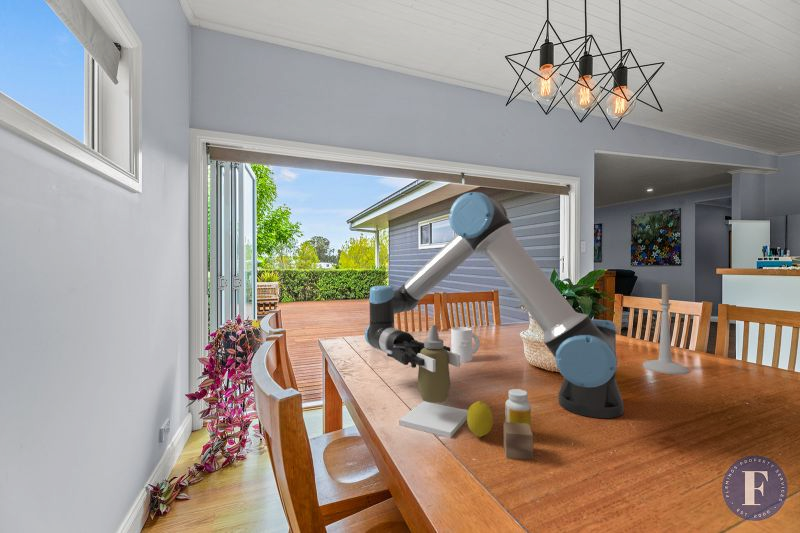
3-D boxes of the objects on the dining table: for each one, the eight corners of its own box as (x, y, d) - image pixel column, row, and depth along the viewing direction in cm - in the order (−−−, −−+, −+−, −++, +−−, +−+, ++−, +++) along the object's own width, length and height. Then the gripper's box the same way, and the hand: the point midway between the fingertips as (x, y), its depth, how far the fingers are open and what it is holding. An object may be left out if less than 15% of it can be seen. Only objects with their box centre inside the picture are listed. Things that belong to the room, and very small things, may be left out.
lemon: (493, 444, 77) (493, 406, 77) (466, 442, 78) (466, 404, 78) (492, 432, 82) (492, 397, 82) (467, 430, 84) (467, 395, 83)
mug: (485, 360, 141) (485, 329, 140) (457, 363, 137) (457, 331, 136) (474, 355, 148) (474, 325, 148) (447, 358, 144) (447, 327, 144)
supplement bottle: (500, 431, 83) (500, 389, 82) (519, 427, 85) (519, 386, 84) (515, 442, 78) (515, 397, 77) (536, 438, 79) (536, 394, 79)
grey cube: (528, 447, 76) (528, 423, 76) (533, 460, 71) (532, 435, 71) (503, 445, 77) (503, 422, 77) (506, 458, 72) (506, 433, 72)
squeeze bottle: (412, 402, 87) (412, 327, 86) (423, 391, 94) (423, 321, 94) (445, 408, 84) (445, 329, 83) (454, 395, 91) (454, 323, 91)
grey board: (470, 415, 91) (470, 410, 91) (450, 437, 80) (450, 432, 80) (423, 405, 98) (423, 401, 98) (398, 424, 86) (398, 419, 86)
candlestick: (636, 362, 135) (636, 281, 135) (674, 364, 133) (674, 281, 133) (655, 373, 123) (655, 284, 122) (697, 375, 121) (697, 284, 120)
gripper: (425, 352, 109) (478, 373, 89) (366, 361, 100) (410, 387, 80) (425, 326, 109) (478, 342, 89) (366, 333, 99) (410, 352, 79)
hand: (446, 363), depth 84 cm, fingers closed on squeeze bottle, 6 cm apart
